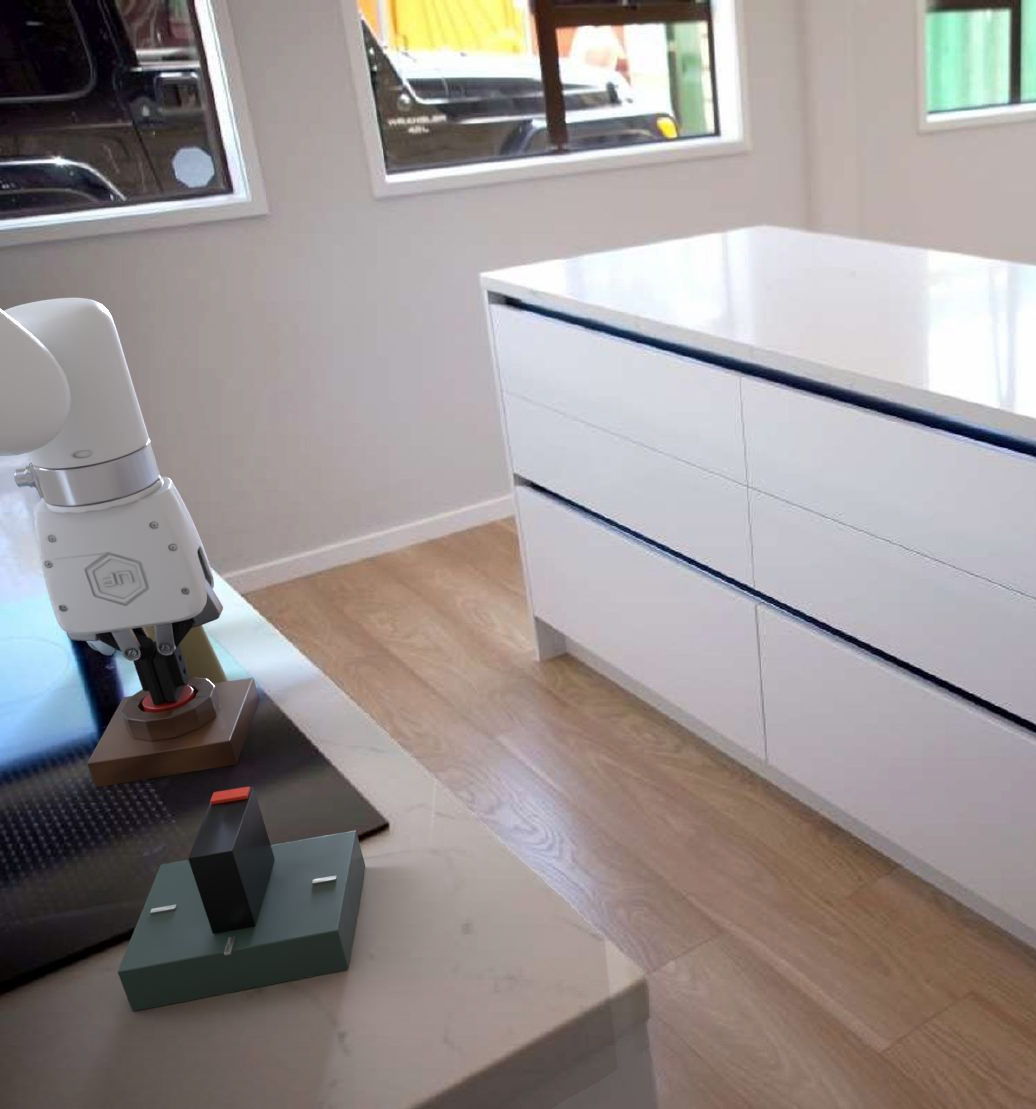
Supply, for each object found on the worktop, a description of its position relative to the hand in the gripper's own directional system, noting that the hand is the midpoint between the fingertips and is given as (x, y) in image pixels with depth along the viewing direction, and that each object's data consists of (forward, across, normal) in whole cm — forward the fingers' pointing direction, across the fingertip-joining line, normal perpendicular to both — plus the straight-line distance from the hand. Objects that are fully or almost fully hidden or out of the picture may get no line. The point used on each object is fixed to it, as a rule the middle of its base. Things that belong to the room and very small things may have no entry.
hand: (170, 694), depth 98 cm
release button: (+2, 0, 0) cm, 2 cm away
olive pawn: (+4, -1, +8) cm, 9 cm away
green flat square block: (+4, +10, -26) cm, 28 cm away
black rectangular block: (+1, +10, -26) cm, 28 cm away
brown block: (+4, 0, 0) cm, 4 cm away
